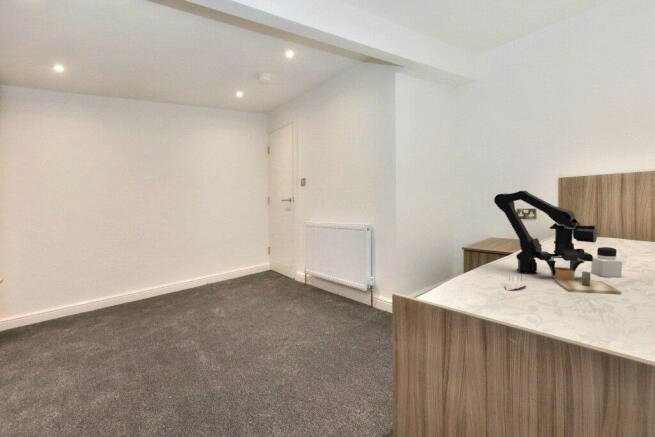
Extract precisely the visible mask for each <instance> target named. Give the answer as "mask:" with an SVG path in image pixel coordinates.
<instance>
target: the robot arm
mask: <svg viewBox="0 0 655 437" xmlns="http://www.w3.org/2000/svg"><path fill="white" fill-rule="evenodd" d="M493 201H494V204H495V205H496V206H497V208H499V210H501V212H503V213H504V214H505V216H506V218H507V220H508V222H509V223H510V225H511V227H512V228H513V230H514V232H515V234H516V236H517V238H518V240H519V247H520V250H521V251H520V252H518V253H517V254H516V255H515V256H516V258H517V268H516V271H518V272H519V274H531V275H532V274H533V275H535V274H538V272H537V271H538V263H537V261H536V260H537V259H538V260H539V261H545V262H546V264H547V266H548V267H549V270H550V272H552V274H553V276H555V267H556V262H557V261H556V260H554V259H563V260H564V261H565V262H569V268H570V269H571V270H573V271H575V272H576V270H577V269H578V267H579V266H580V265H581V264H584V263H585V262H592V261H593V257H594V256H593V254H591V253H590V252H589V253H588V252H586V251H585V249H584V248H575V244H574V243H573V239H574V240H576V242H583V243H584V242H585V243H596V242H597V240H598V232H597V226H596V225H593V224H591V225H586V224H585V225H583V224H581V223H580V222H579V221H578V220H577V219H576V215H575V213H574V212H573V211H572V210H569V209H566V208H564V207H560V206H556V205H553V204H551V203H550V202H547V201H545V200H544V199H541V198H539V197H537V196H535V195H534V194H532V193H530V192H528V191H527V190H519V191H516V192H512V193H506V192H505V193H499V194H497V195H495V196H494V199H493ZM517 201H523V202H525V203H526V204H529V205H530V206H532V207H534V208H535V209H537V210H539V211H541V212H542V213H545V215H547V216H548V217H549V218H550V219H551V220H552V221H554V222H555V223H554V224H552V225H551V226H550V227H549V229H550V230H555V234H554V238H555V239H554V240H553V244H554V250H553V253H550V252H548V251H543V249H542V247H543V245H542V244H541V243H540V242H539V238H538V237H536V238H533V237H532V236H531V234H530V232H529V231H528V230H527V228H526V226H525V224H524V223H523V221H522V218H520V215H519V214H518V212H517V211H516V206H515V202H517Z"/></svg>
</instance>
